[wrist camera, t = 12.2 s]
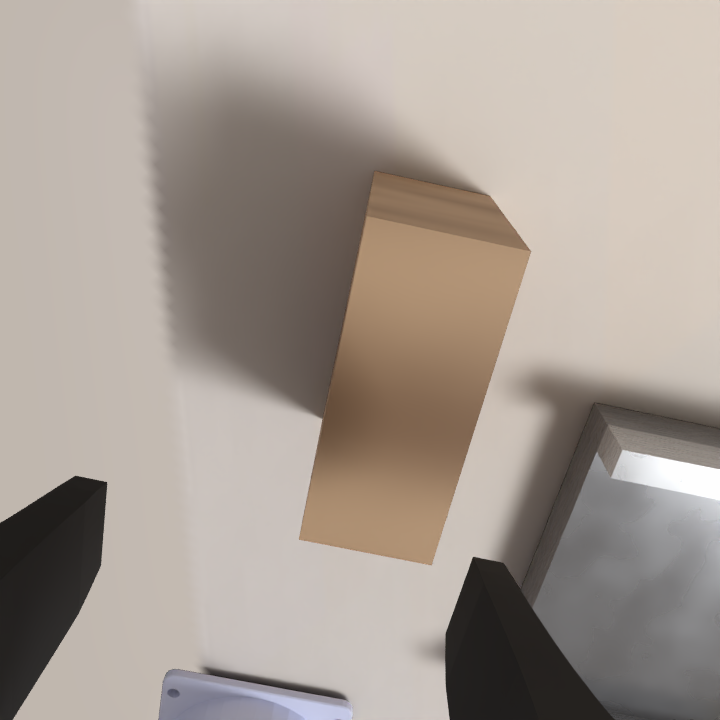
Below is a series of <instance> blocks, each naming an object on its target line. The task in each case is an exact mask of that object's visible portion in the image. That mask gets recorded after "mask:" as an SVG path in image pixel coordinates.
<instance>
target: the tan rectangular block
mask: <svg viewBox="0 0 720 720" xmlns="http://www.w3.org/2000/svg"><path fill="white" fill-rule="evenodd" d="M530 253H531V251H530V249H529V248H528V247H527V245H526V244H525V243H524V241H523V240H522V239H521V237H520V236H519V235H518V233H517V232H516V230H515V229H514V228H513V226H512V225H511V224H510V222H509V221H508V220H507V218H506V217H505V216H504V214H503V213H502V212H501V210H500V209H499V207H498V206H497V205H496V203H495V202H494V201H493V199H492V198H491V197H490V196H487V195H483V194H478V193H474V192H469V191H464V190H460V189H455V188H451V187H446V186H442V185H437V184H432V183H428V182H423V181H419V180H414V179H410V178H405V177H400V176H396V175H391V174H387V173H382V172H378V171H374V176H373V181H372V185H371V190H370V195H369V200H368V205H367V209H366V214H365V219H364V224H363V228H362V233H361V238H360V243H359V248H358V252H357V257H356V262H355V267H354V272H353V276H352V281H351V286H350V291H349V295H348V300H347V305H346V310H345V315H344V319H343V324H342V329H341V334H340V339H339V343H338V348H337V353H336V358H335V362H334V367H333V372H332V377H331V382H330V386H329V391H328V396H327V401H326V406H325V410H324V415H323V420H322V425H321V430H320V435H319V440H318V445H317V450H316V455H315V461H314V466H313V471H312V476H311V481H310V486H309V491H308V496H307V501H306V506H305V511H304V516H303V521H302V527H301V532H300V537H299V540H304V541H309V542H314V543H320V544H325V545H330V546H335V547H340V548H345V549H350V550H356V551H361V552H366V553H371V554H376V555H381V556H386V557H392V558H397V559H402V560H407V561H412V562H417V563H422V564H428V565H432V562H433V559H434V556H435V552H436V549H437V546H438V543H439V540H440V537H441V534H442V530H443V527H444V524H445V521H446V518H447V515H448V511H449V508H450V505H451V502H452V499H453V496H454V493H455V489H456V486H457V483H458V480H459V477H460V474H461V471H462V467H463V464H464V461H465V458H466V455H467V452H468V448H469V445H470V442H471V439H472V436H473V433H474V430H475V426H476V423H477V420H478V417H479V414H480V411H481V408H482V404H483V401H484V398H485V395H486V392H487V389H488V385H489V382H490V379H491V376H492V373H493V370H494V367H495V363H496V360H497V357H498V354H499V351H500V348H501V344H502V341H503V338H504V335H505V332H506V329H507V326H508V322H509V319H510V316H511V313H512V310H513V307H514V304H515V300H516V297H517V294H518V291H519V288H520V285H521V281H522V278H523V275H524V272H525V269H526V266H527V263H528V259H529V256H530Z"/></svg>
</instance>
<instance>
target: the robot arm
mask: <svg viewBox="0 0 720 720" xmlns="http://www.w3.org/2000/svg"><path fill="white" fill-rule="evenodd" d="M106 492H107V482H104V481H99V480H93V479H89V478H84V477H79V476H74V477H73V478H71V479H70V480H68V481H66V482H65V483H63V484H61V485H60V486H58V487H57V488H55V489H53V490H52V491H51V492H49V493H47V494H46V495H44V496H43V497H41V498H39V499H38V500H37V501H35V502H33V503H32V504H30V505H28V506H27V507H26V508H24V509H22V510H21V511H19V512H17V513H16V514H14V515H13V516H11V517H9V518H8V519H6V520H5V521H3V522H1V523H0V720H13V718H14V717H15V715H16V714H17V712H18V710H19V708H20V707H21V706H22V704H23V702H24V700H25V699H26V698H27V696H28V694H29V693H30V691H31V689H32V688H33V686H34V685H35V683H36V682H37V680H38V678H39V677H40V675H41V673H42V672H43V670H44V669H45V667H46V665H47V664H48V662H49V661H50V659H51V657H52V656H53V654H54V653H55V651H56V650H57V648H58V646H59V645H60V643H61V641H62V640H63V638H64V637H65V635H66V633H67V632H68V630H69V629H70V627H71V625H72V623H73V622H74V620H75V619H76V617H77V615H78V614H79V611H80V609H81V607H82V605H83V603H84V601H85V599H86V597H87V595H88V593H89V591H90V588H91V586H92V584H93V582H94V579H95V577H96V575H97V573H98V571H99V569H100V566H101V556H102V544H103V531H104V518H105V517H104V516H105V505H106V504H105V503H106ZM445 667H446V692H447V700H448V709H449V717H450V720H615V719H614V718H613V717H612V716H611V715H610V714H609V713H608V711H607V710H606V709H605V708H604V707H603V705H602V704H601V703H600V702H599V701H598V699H597V698H596V697H595V696H594V694H593V693H592V692H591V690H590V689H589V688H588V686H587V685H586V684H585V683H584V681H583V680H582V679H581V677H580V676H579V675H578V673H577V672H576V671H575V670H574V668H573V667H572V666H571V664H570V663H569V661H568V660H567V659H566V657H565V656H564V654H563V653H562V652H561V650H560V649H559V647H558V646H557V645H556V643H555V642H554V640H553V639H552V637H551V636H550V634H549V633H548V631H547V630H546V628H545V627H544V625H543V624H542V622H541V621H540V619H539V618H538V616H537V615H536V613H535V612H534V610H533V609H532V607H531V605H530V604H529V602H528V601H527V599H526V598H525V596H524V594H523V593H522V591H521V590H520V588H519V587H518V585H517V583H516V582H515V580H514V579H513V577H512V576H511V574H510V572H509V571H508V569H507V568H506V566H505V565H504V563H501V562H496V561H491V560H486V559H481V558H476V557H473V559H472V562H471V564H470V567H469V570H468V573H467V576H466V578H465V581H464V584H463V587H462V590H461V592H460V595H459V598H458V601H457V603H456V606H455V609H454V612H453V615H452V617H451V620H450V623H449V626H448V629H447V631H446V651H445ZM175 689H176V690H175ZM352 714H353V707H352V705H351V703H349V702H348V701H346V700H342V699H337V698H331V697H326V696H321V695H315V694H310V693H304V692H299V691H293V690H288V689H283V688H277V687H272V686H266V685H261V684H255V683H250V682H245V681H239V680H234V679H228V678H223V677H218V676H212V675H207V674H201V673H196V672H190V671H185V670H180V669H173V670H169V671H168V672H167V673H166V675H165V678H164V681H163V686H162V694H161V703H160V712H159V719H158V720H351V719H352Z"/></svg>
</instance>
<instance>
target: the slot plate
mask: <svg viewBox="0 0 720 720" xmlns="http://www.w3.org/2000/svg"><path fill="white" fill-rule="evenodd" d="M521 591H522V593H523V594H524V596H525V598H526V599H527V601H528V602H529V604H530V605H531V607H532V609H533V610H534V612H535V613H536V615H537V616H538V618H539V619H540V621H541V622H542V624H543V625H544V627H545V628H546V630H547V631H548V633H549V634H550V636H551V637H552V639H553V640H554V642H555V643H556V645H557V646H558V647H559V649H560V650H561V652H562V653H563V654H564V656H565V657H566V659H567V660H568V661H569V663H570V664H571V666H572V667H573V668H574V670H575V671H576V672H577V673H578V675H579V676H580V677H581V679H582V680H583V681H584V683H585V684H586V685H587V686H588V688H589V689H590V690H591V692H592V693H593V694H594V696H595V697H596V698H597V699H598V701H599V702H600V703H601V704H602V705H603V707H604V708H605V709H606V710H607V711H608V713H609V714H610V715H611V716H612V717H613V718H614V719H615V720H720V429H719V428H714V427H709V426H704V425H700V424H695V423H690V422H685V421H680V420H675V419H671V418H666V417H661V416H656V415H651V414H646V413H642V412H637V411H632V410H627V409H622V408H617V407H613V406H608V405H603V404H598V403H594V405H593V408H592V410H591V413H590V416H589V418H588V421H587V423H586V426H585V428H584V431H583V433H582V436H581V438H580V441H579V443H578V446H577V448H576V451H575V454H574V456H573V459H572V461H571V464H570V466H569V469H568V471H567V474H566V476H565V479H564V481H563V484H562V487H561V489H560V492H559V494H558V497H557V499H556V502H555V504H554V507H553V509H552V512H551V514H550V517H549V519H548V522H547V525H546V527H545V530H544V532H543V535H542V537H541V540H540V542H539V545H538V547H537V550H536V552H535V555H534V558H533V560H532V563H531V565H530V568H529V570H528V573H527V575H526V578H525V580H524V583H523V585H522V588H521Z"/></svg>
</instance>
